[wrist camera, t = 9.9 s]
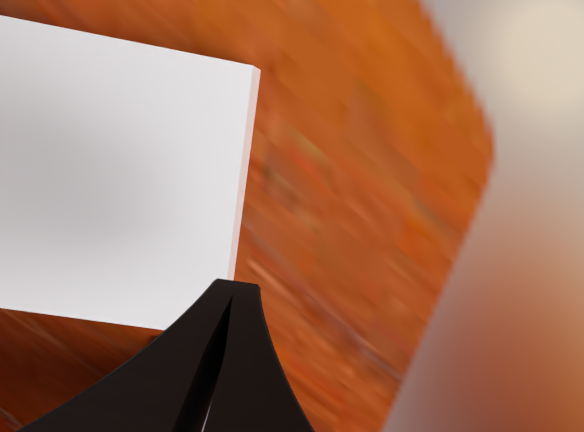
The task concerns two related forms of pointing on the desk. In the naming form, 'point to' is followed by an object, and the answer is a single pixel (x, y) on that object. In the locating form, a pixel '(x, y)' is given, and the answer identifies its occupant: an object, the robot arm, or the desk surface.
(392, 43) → the desk surface
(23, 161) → the white flat block
